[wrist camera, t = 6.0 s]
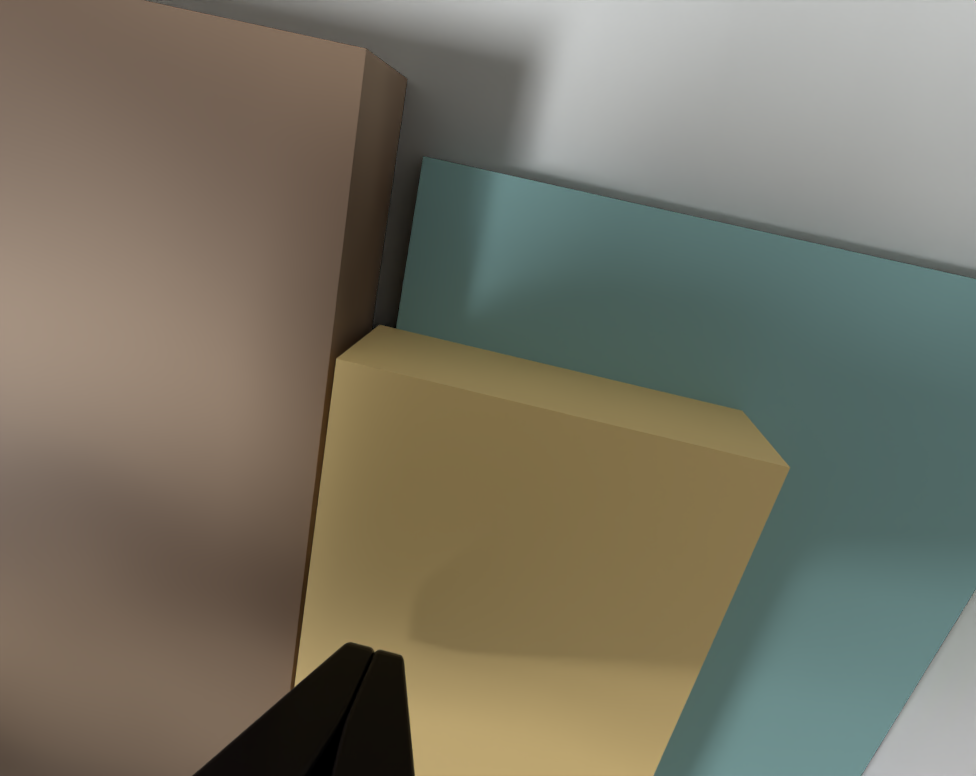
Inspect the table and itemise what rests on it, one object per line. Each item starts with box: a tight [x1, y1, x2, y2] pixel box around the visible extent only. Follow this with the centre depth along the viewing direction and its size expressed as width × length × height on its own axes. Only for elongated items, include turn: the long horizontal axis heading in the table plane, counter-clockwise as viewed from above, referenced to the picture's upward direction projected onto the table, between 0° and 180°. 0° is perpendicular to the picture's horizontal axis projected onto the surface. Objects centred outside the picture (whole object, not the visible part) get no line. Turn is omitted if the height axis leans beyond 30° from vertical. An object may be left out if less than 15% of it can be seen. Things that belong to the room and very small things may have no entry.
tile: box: [294, 325, 790, 776], centre depth 10 cm, size 9×6×2 cm, turn 168°
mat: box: [396, 156, 976, 776], centre depth 11 cm, size 14×10×1 cm
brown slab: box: [0, 0, 407, 776], centre depth 11 cm, size 16×12×2 cm
